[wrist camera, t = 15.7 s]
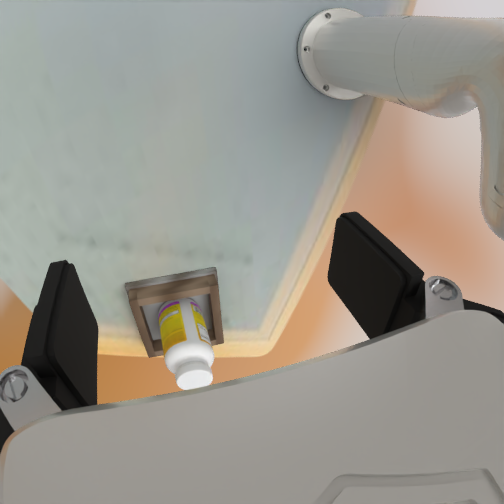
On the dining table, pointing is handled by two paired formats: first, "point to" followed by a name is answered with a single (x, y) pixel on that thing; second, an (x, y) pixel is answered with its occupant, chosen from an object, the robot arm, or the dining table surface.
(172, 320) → the supplement bottle
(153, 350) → the shallow square brown tray
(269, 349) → the dining table surface
